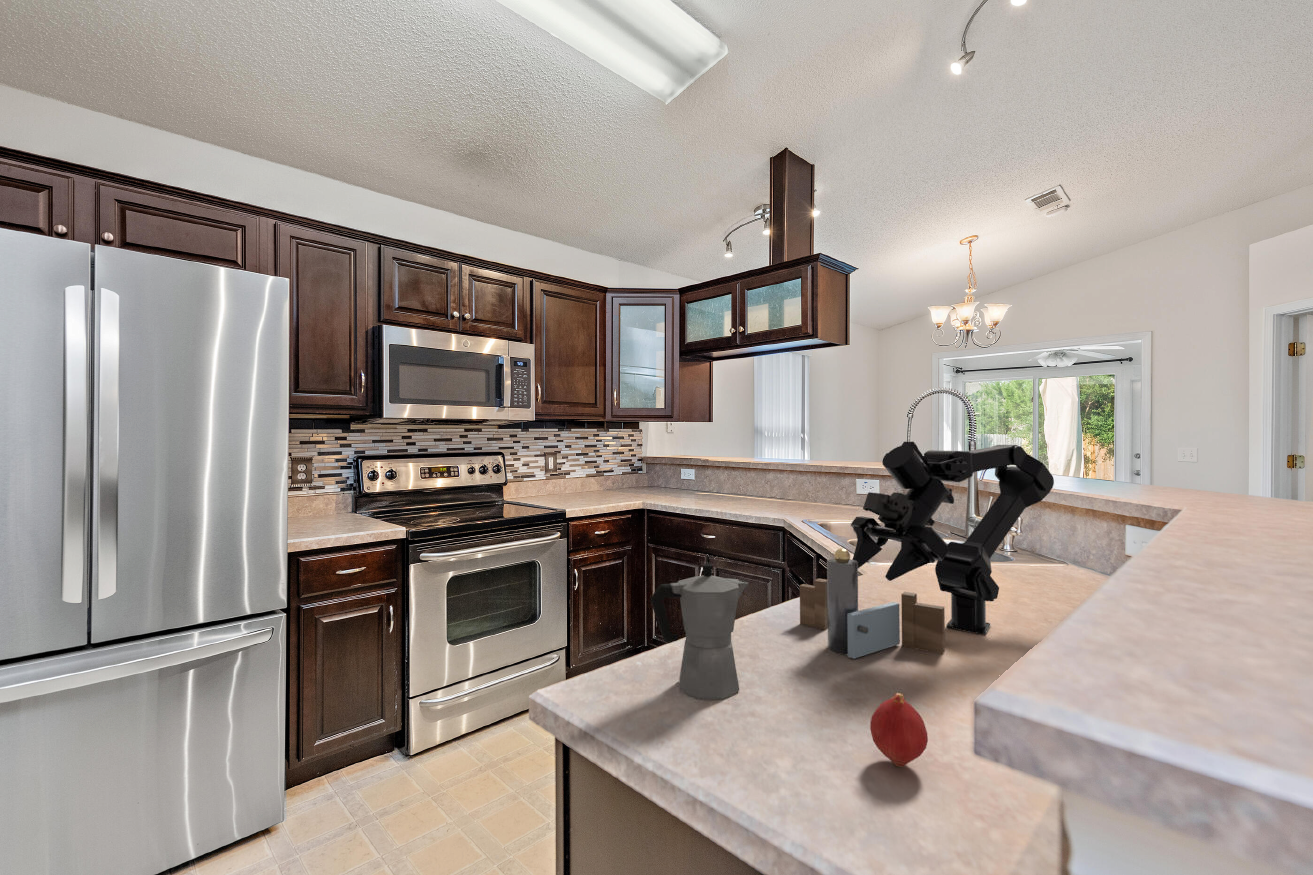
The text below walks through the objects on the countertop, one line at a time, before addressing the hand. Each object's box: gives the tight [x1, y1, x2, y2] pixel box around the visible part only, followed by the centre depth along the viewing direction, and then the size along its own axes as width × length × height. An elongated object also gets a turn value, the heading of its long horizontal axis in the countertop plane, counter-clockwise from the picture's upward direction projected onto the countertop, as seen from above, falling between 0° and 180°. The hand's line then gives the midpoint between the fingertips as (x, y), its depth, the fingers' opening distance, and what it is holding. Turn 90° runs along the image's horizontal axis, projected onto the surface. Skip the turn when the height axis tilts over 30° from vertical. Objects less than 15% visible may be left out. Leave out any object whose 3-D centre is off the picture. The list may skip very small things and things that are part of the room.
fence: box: [799, 578, 946, 655], centre depth 102 cm, size 2×25×9 cm, turn 52°
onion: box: [869, 692, 929, 768], centre depth 62 cm, size 6×6×8 cm
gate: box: [847, 601, 901, 660], centre depth 94 cm, size 12×3×7 cm, turn 122°
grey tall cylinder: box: [826, 548, 859, 656], centre depth 96 cm, size 5×5×17 cm
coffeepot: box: [650, 562, 750, 701], centre depth 82 cm, size 15×9×18 cm, turn 110°
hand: (869, 573), depth 98 cm, fingers open, 9 cm apart
